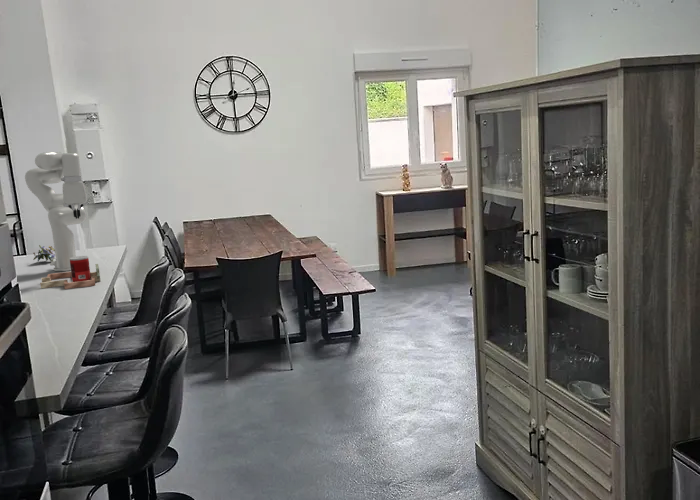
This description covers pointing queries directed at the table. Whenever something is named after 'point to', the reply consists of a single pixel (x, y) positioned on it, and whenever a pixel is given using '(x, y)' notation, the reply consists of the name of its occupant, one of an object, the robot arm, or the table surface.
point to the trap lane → (48, 283)
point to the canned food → (80, 268)
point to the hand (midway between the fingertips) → (77, 218)
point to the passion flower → (45, 253)
